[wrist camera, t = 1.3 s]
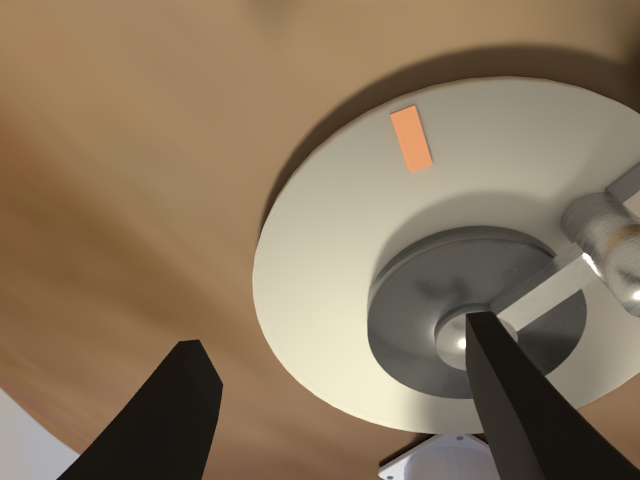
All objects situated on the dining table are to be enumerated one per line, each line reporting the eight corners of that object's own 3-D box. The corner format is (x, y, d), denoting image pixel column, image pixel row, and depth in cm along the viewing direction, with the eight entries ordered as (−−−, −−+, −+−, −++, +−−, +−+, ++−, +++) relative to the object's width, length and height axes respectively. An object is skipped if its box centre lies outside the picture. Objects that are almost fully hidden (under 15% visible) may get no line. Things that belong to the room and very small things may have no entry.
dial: (460, 399, 25) (481, 486, 20) (327, 317, 22) (320, 398, 18) (683, 261, 19) (779, 344, 14) (537, 123, 16) (603, 176, 12)
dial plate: (789, 272, 20) (816, 290, 19) (451, 456, 30) (455, 475, 29) (476, -62, 14) (487, -65, 13) (186, 307, 24) (178, 324, 23)
